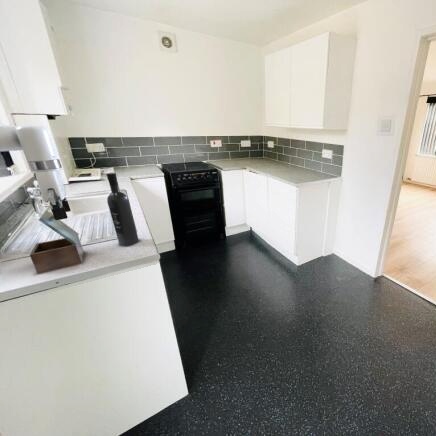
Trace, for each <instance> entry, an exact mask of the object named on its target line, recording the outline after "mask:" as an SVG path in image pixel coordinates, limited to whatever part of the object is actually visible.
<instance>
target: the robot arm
mask: <svg viewBox="0 0 436 436" xmlns="http://www.w3.org/2000/svg"><path fill="white" fill-rule="evenodd" d="M15 151H17V152H18V151H22V153H23V154H24V157H25V160H26V163H27V165H28V167H29V170H30V172H31V173H34V174H35V179H36V183H37V186H38V188H39V192H40V195H41V199H42V201H43V202H44V203H46V204H47V203H48V202H49V206H50V210H51V214H52V215H53V216H54V219H55V220H61V221H62V220H66V219H68V217H69V216H68V214H67V213H68V212H69V213H70V212H71V207H70V204H69V201H68V200H67V191H66V188H65V185H64V182H63V179H62V176H61V174H60V170H63V166H62V164H61V161H60V157H59V154H58V151H57V149H56V146H55V143H54V141H53V137H52V133H51V132H50V130H49V128H48V127H46V126H44V125H11V124H10V125H6V124H0V152H15Z"/></svg>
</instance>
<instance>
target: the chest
mask: <svg viewBox="0 0 436 436" xmlns="http://www.w3.org/2000/svg"><path fill="white" fill-rule="evenodd" d="M84 252H85V251H84V249H83V246H82V243H81V240H80V237H79V236H78V238H77V242H76V244H75V245H74V244H72V243H71V242H69V241H68V240H67V239H65V238H64V237H62V238H59V239H53V240H48V241H43V242H38V243H35V245H34V247H33V248H32V250H31V252H30V254H29V257H30V260H31V262H32V264H33V267H34V269H35V271H36V273H37V274H38V275H40V274H43V273H44V274H45V273H48V272H52V271H55V270H59V269H63V268H68V267H72V266H75V265H80V264H83V259H84V254H85V253H84Z"/></svg>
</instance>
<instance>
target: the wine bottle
mask: <svg viewBox="0 0 436 436" xmlns="http://www.w3.org/2000/svg"><path fill="white" fill-rule="evenodd" d="M105 176H106V178H107V179H106V180H108V184H109V188H110V193H109V195H108V196H107V199H106V202H107V207H108V209H109V213H110V216H111V220H112V224H113V228H114V232H115V234H116V239H117V242H118V245H119V246H120V247H121V246H122V247H131V246H133V245H136V244H138V243H139V242H140V239H139V235H138V231H137V228H136V227H137V226H136V223H135V219H134V215H133V211H132V207H131V203H130V200H129V197H128V196H127V194H125V192H122V191H121V190H120V185H119V181H118V177H117V174H116V173H115V172H110V173H106V175H105Z"/></svg>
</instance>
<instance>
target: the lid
mask: <svg viewBox="0 0 436 436" xmlns="http://www.w3.org/2000/svg"><path fill="white" fill-rule="evenodd" d="M38 221H39V222H40V223H42V224H43V225H45V226H46V227H48V228H49V229H51V230H52V231H54V232H55V233H57V234H58V235H59V236H61V237H62V238H65V239H67V240H68V241H69V242H71V243H72V244H74V245H75V244H76V242H77V238H78V237H79V233H78V232H77V231H76V230H75V229H73V228H72V227H70V226H69V225H67V224H66V222H65V223H64V221H62V219H61V220H55V219H54V216H53V213H52V212H50V211H48V210H47V209H46V210H44V212H43V213H42V214H41V216H40V217H39V218H38Z"/></svg>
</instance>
